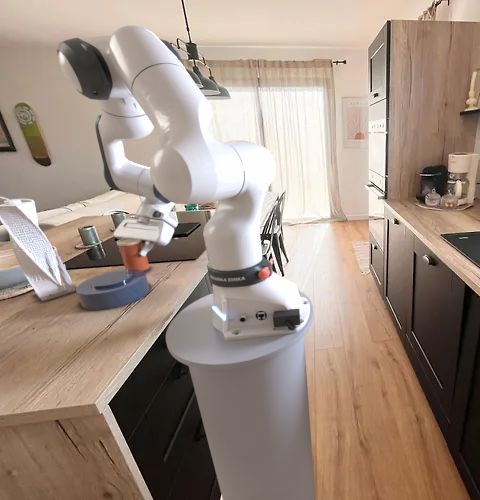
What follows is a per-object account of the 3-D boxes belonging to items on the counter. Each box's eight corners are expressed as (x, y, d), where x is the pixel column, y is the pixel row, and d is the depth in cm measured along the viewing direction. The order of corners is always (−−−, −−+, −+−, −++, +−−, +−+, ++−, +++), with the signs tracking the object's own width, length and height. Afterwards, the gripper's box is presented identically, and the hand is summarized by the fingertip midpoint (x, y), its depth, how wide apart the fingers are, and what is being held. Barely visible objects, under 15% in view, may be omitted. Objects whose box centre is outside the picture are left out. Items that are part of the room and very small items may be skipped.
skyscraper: (35, 304, 76) (-13, 198, 66) (27, 295, 80) (-20, 195, 70) (76, 291, 82) (38, 193, 72) (67, 283, 86) (29, 190, 76)
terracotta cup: (154, 264, 98) (147, 236, 94) (141, 273, 91) (132, 243, 88) (135, 264, 98) (126, 236, 94) (120, 273, 91) (110, 243, 88)
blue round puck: (160, 282, 87) (156, 266, 85) (124, 310, 73) (118, 291, 71) (111, 282, 87) (106, 266, 85) (65, 310, 73) (58, 291, 71)
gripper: (120, 210, 97) (98, 246, 92) (168, 214, 92) (147, 253, 87) (136, 219, 103) (116, 254, 98) (182, 224, 97) (164, 261, 92)
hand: (131, 254), depth 92 cm, fingers closed on terracotta cup, 6 cm apart
